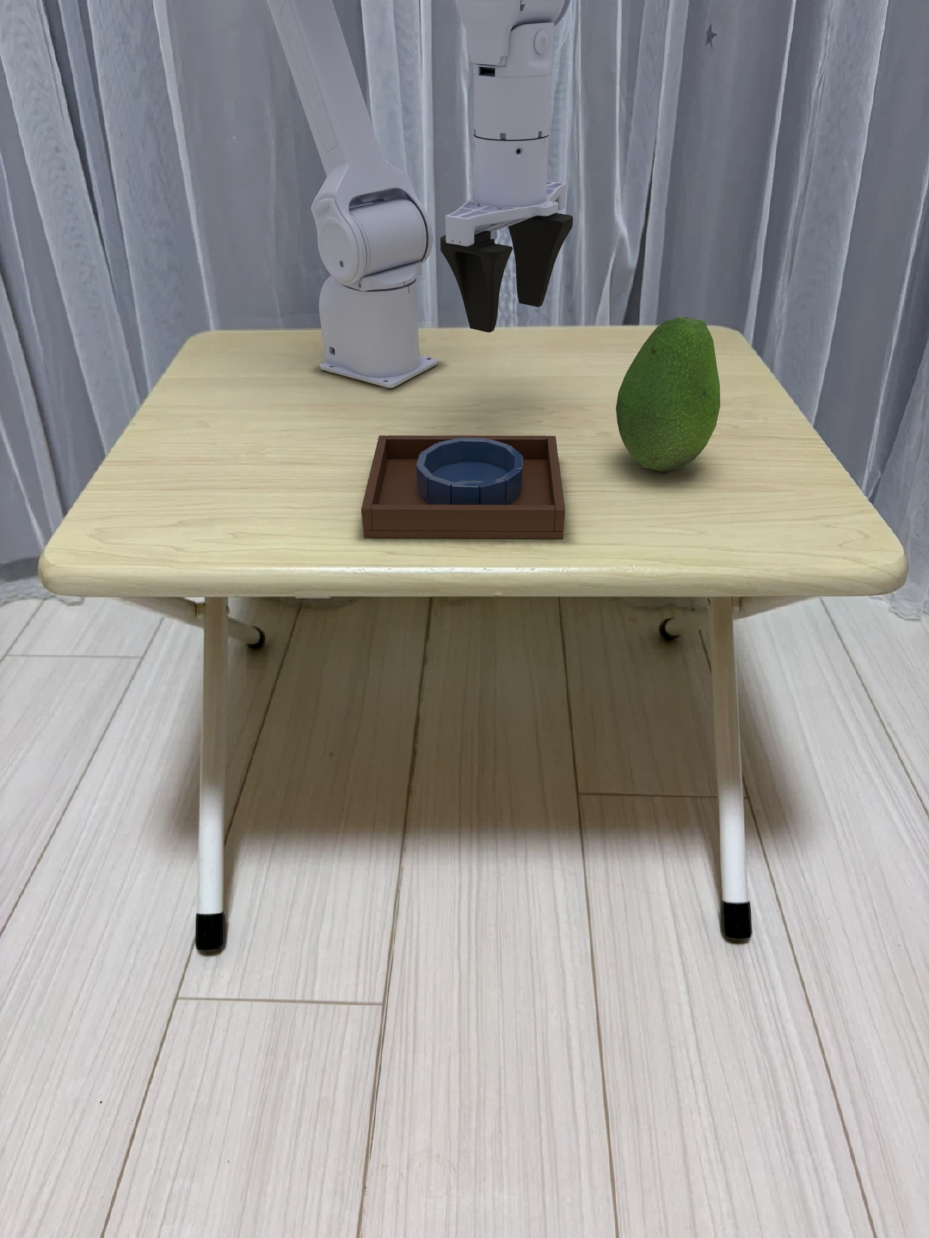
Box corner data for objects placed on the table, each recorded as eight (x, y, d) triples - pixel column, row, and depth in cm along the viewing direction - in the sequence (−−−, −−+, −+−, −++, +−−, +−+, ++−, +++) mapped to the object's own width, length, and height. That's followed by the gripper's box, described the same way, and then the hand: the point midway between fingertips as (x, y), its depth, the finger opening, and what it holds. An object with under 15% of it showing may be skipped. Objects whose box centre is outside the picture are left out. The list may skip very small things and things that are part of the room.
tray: (363, 537, 62) (360, 508, 61) (380, 461, 72) (378, 435, 70) (563, 538, 62) (565, 509, 61) (554, 462, 71) (555, 435, 70)
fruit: (590, 467, 71) (603, 320, 63) (642, 434, 75) (659, 294, 68) (677, 498, 66) (701, 345, 59) (726, 462, 71) (754, 315, 64)
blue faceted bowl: (397, 494, 66) (395, 467, 65) (458, 455, 71) (457, 429, 70) (483, 525, 62) (483, 497, 61) (541, 481, 68) (542, 454, 66)
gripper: (503, 155, 58) (499, 352, 67) (603, 126, 68) (589, 302, 76) (420, 145, 62) (426, 334, 70) (527, 119, 71) (521, 288, 79)
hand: (507, 316), depth 73 cm, fingers open, 7 cm apart
